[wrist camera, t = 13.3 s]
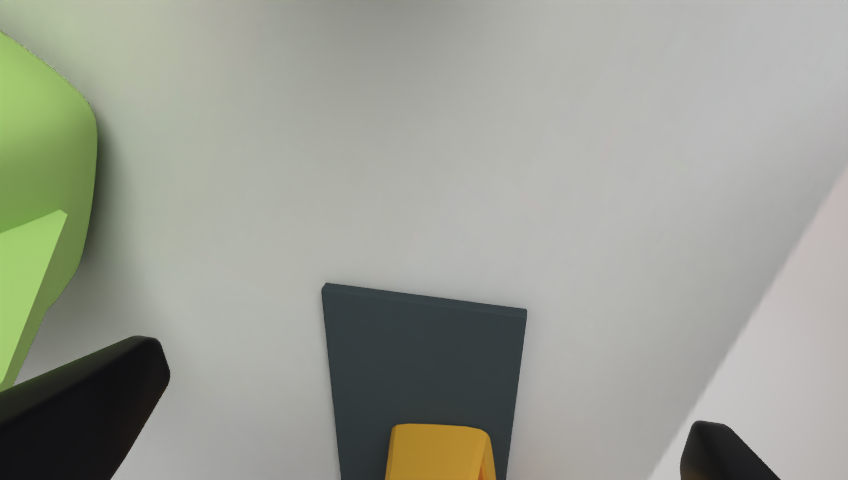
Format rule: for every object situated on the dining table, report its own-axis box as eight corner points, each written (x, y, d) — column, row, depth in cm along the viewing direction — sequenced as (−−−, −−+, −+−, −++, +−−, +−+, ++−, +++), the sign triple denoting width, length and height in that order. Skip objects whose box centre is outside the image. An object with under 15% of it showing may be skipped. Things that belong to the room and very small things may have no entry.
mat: (527, 309, 21) (526, 317, 20) (490, 595, 31) (489, 606, 31) (325, 282, 23) (320, 289, 22) (353, 562, 33) (350, 572, 32)
